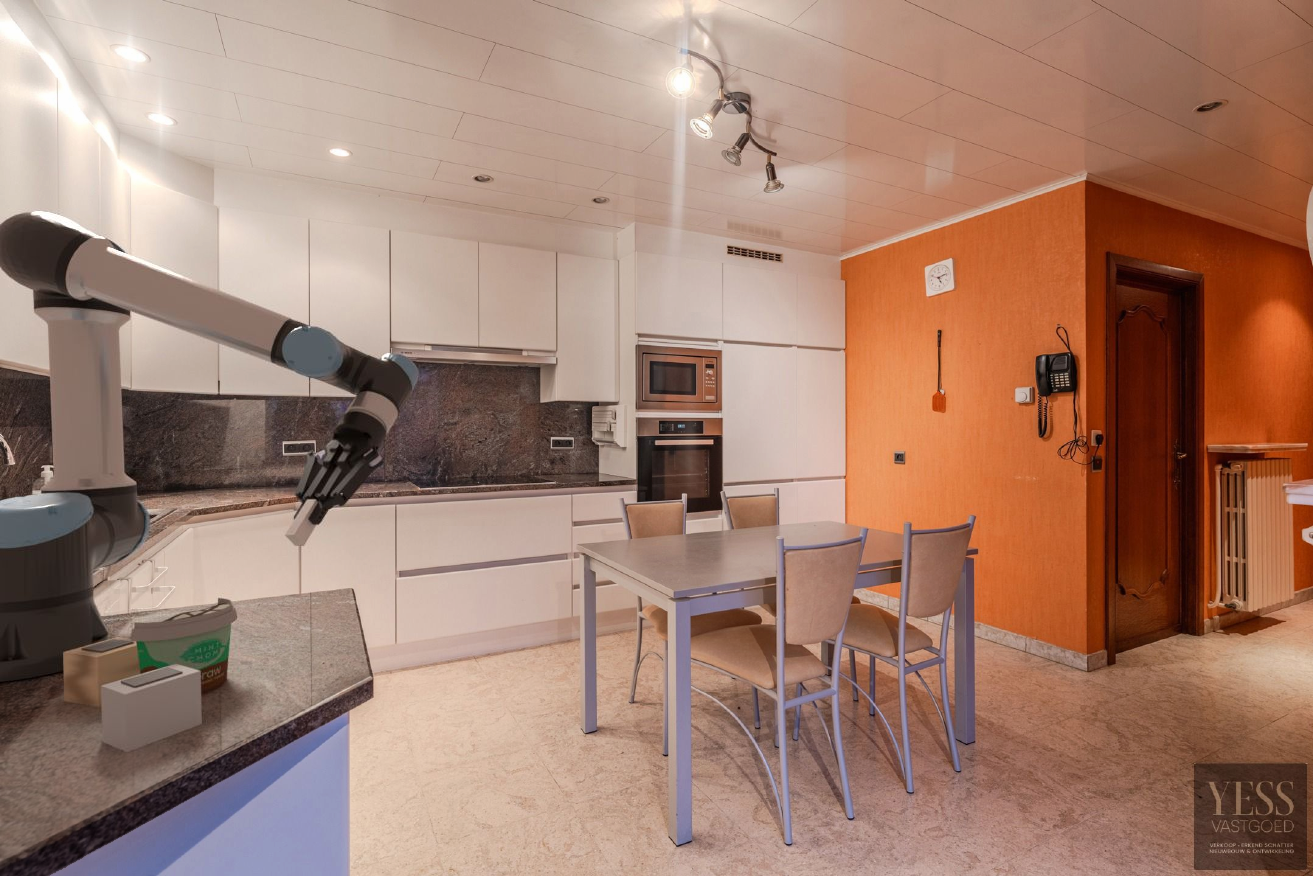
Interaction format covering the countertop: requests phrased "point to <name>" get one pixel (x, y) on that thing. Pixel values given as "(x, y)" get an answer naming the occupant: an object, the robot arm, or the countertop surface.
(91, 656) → the oak block
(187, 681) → the grey painted block
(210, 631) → the food container
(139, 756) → the countertop surface
